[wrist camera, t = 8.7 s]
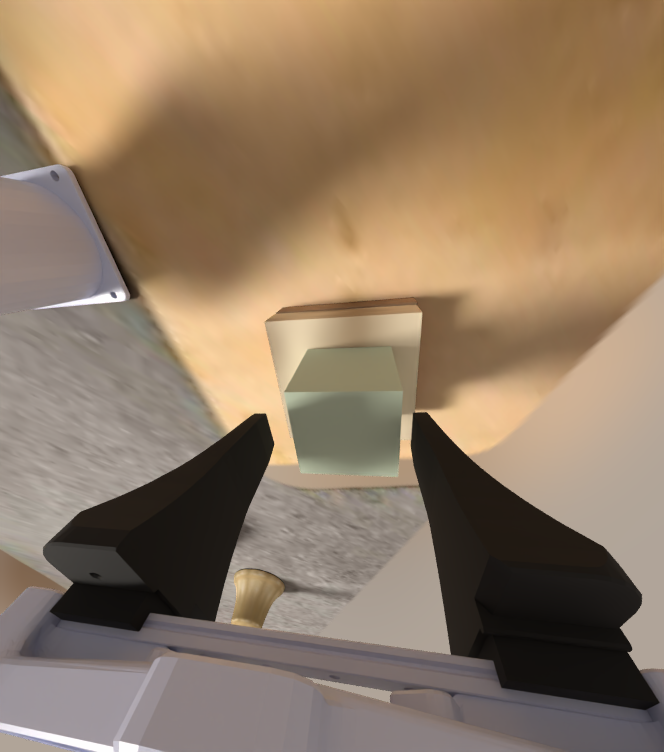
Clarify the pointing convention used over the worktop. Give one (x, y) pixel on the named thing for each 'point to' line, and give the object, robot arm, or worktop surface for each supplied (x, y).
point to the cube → (346, 411)
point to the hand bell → (254, 596)
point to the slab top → (350, 343)
